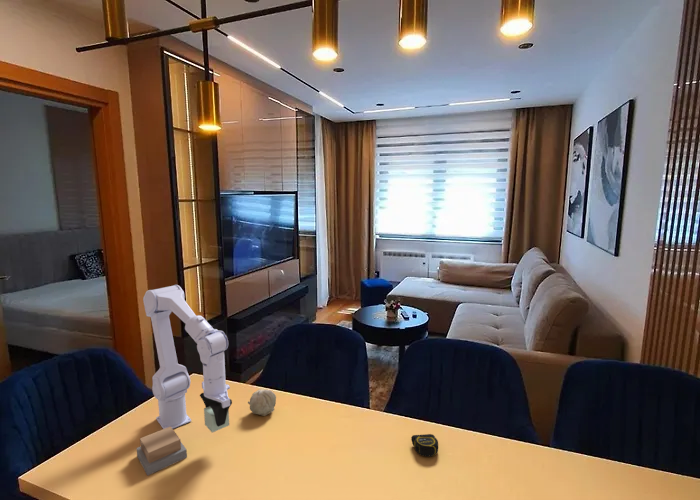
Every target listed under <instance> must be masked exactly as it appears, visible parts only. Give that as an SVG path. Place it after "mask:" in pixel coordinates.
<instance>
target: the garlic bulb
mask: <svg viewBox="0 0 700 500" xmlns="http://www.w3.org/2000/svg"><path fill="white" fill-rule="evenodd" d="M276 402H277V396H276V393H274V392H273V391H272V390H270V389H262V388H261V389H258V390H256V391H254V392H253V393H252V395H251V397H250V399H249V400H248V401H247V404H248V405H249V410H250V411H251V413H252V414H255V415H259V416H262V417H265V416H268V415H269V414H272V413H273V412H274V411H275V407H276Z"/></svg>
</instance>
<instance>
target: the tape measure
mask: <svg viewBox="0 0 700 500" xmlns="http://www.w3.org/2000/svg"><path fill="white" fill-rule="evenodd" d="M410 440H411V442H412V443H411V444H412V446H413V447H414V450H415V452H416V454H419V455H420V456H421V457H429V458H430V457H434V456H435V455H436V454H437V453H438V452H439V440H438V439H437V438H436V436H435V435H434V434H431V433H427V434H412V436H411V439H410Z"/></svg>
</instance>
